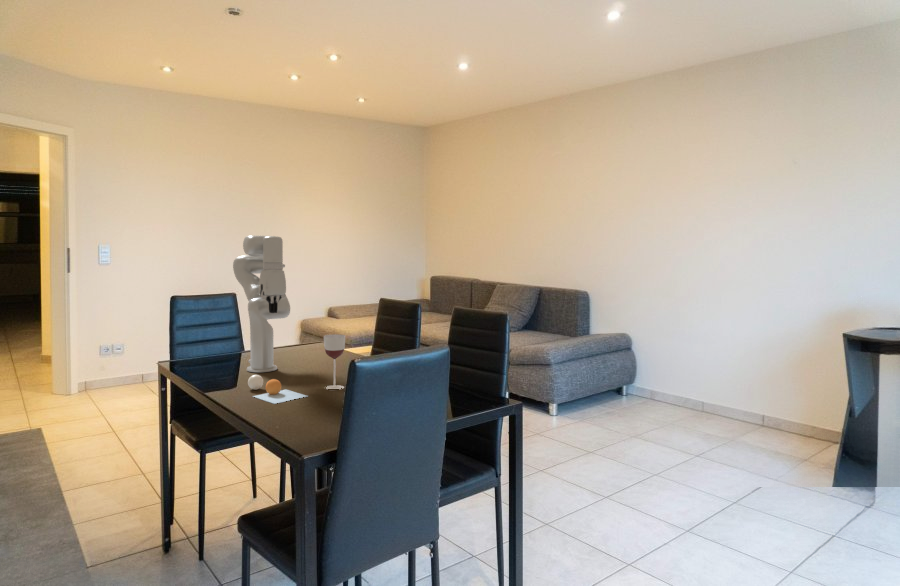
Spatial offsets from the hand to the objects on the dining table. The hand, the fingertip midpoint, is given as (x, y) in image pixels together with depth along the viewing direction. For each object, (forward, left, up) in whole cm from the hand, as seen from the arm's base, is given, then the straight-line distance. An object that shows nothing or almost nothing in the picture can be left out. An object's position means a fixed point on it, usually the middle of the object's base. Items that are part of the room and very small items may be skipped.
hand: (273, 312), depth 233 cm
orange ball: (+22, -14, -24) cm, 35 cm away
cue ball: (+10, -14, -24) cm, 30 cm away
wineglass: (+29, +8, -27) cm, 41 cm away
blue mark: (+26, -14, -27) cm, 40 cm away
